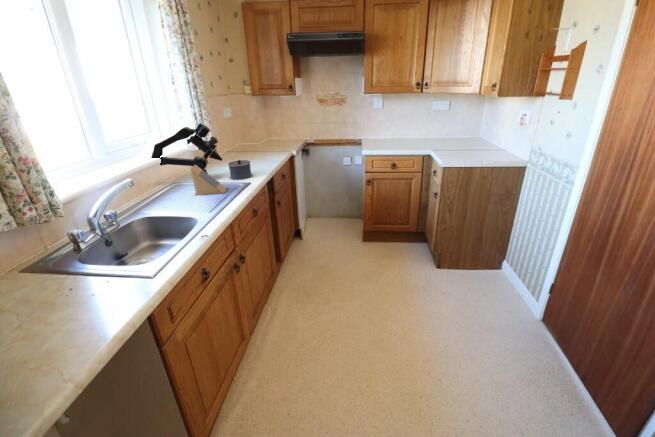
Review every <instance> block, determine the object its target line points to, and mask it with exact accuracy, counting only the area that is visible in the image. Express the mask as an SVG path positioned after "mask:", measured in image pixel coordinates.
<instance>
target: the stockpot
mask: <svg viewBox="0 0 655 437" xmlns="http://www.w3.org/2000/svg"><path fill="white" fill-rule="evenodd" d="M227 166H228V170H229V175H230V179H231V180H245V179H249V178H251V177H252V176H253V175H252V168H251V161H250V160H246V159H241V160H240V159H238V160H232V161H230V162H228V163H227Z"/></svg>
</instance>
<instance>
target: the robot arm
mask: <svg viewBox="0 0 655 437" xmlns="http://www.w3.org/2000/svg"><path fill="white" fill-rule="evenodd" d="M210 131H211V129H210V128H209V127H208V126H207V125H205V124H204V123H201V122H200V123H198V125H197V127H196V128H190V127H188V126H184V127H182V128H181V129H179V130H178V131H176V133H175V134H173V135H172V136H170V137H168V138H166V139H164V140H161V141H160V142H157V143H155V144H154V146H153V150H152V153H151V157H150V158H160V156H161V155H163V152H164V151H163V149H164V148H166V147H168V146H170V145H172V144H174V143H176V142H178V141H182V140H185V139H186V144H187V145H190V144H192V145H194V146H195V147H196V148H197V150H200V151H201V152H203V156H199V155H196V156H194V157H193V158H185V157H182V158H181V157H170V156H169V157H168V156H166V157H161V158H160V159H161V163H160V165H161V166H160V167H162V166H167V165H170V166H182V167H183V166H185V167H193V166H194V165H197V166H198V167H199V168H200V169H202V170H203V171H204V172H206V173H207V174H208V170H207V169H206V168H207V166H208V165H209V161H208V158H209V159H214V160H217V161H220V162H222V161H223V158H222V157H221V155H220V154H219V153H218V151H217V147H218V145H217V144H218V143H219V140H218V138H217V137H214V136H211V137H210V139H209V140H204V139H205V138H206V137H207V135H208V134H209V133H210ZM203 138H204V139H203ZM163 156H164V155H163ZM208 175H209V174H208Z"/></svg>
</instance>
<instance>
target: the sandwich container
mask: <svg viewBox="0 0 655 437" xmlns="http://www.w3.org/2000/svg"><path fill="white" fill-rule="evenodd" d="M190 173H191V178H192V182H193V187H194V191H195V195H196V196H201V195H217V194H225V193H226V192H227V189H228V187H227V186H225V185H223V184H222V183H221V182H219V181H218V180H217V179H215V178H213V176H211V175H210V174H207V173H208V172H207V173H206V172H204V171H203V170H202V169H200V168H199V167H198V166H197V165H194V166H191V167H190Z"/></svg>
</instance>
